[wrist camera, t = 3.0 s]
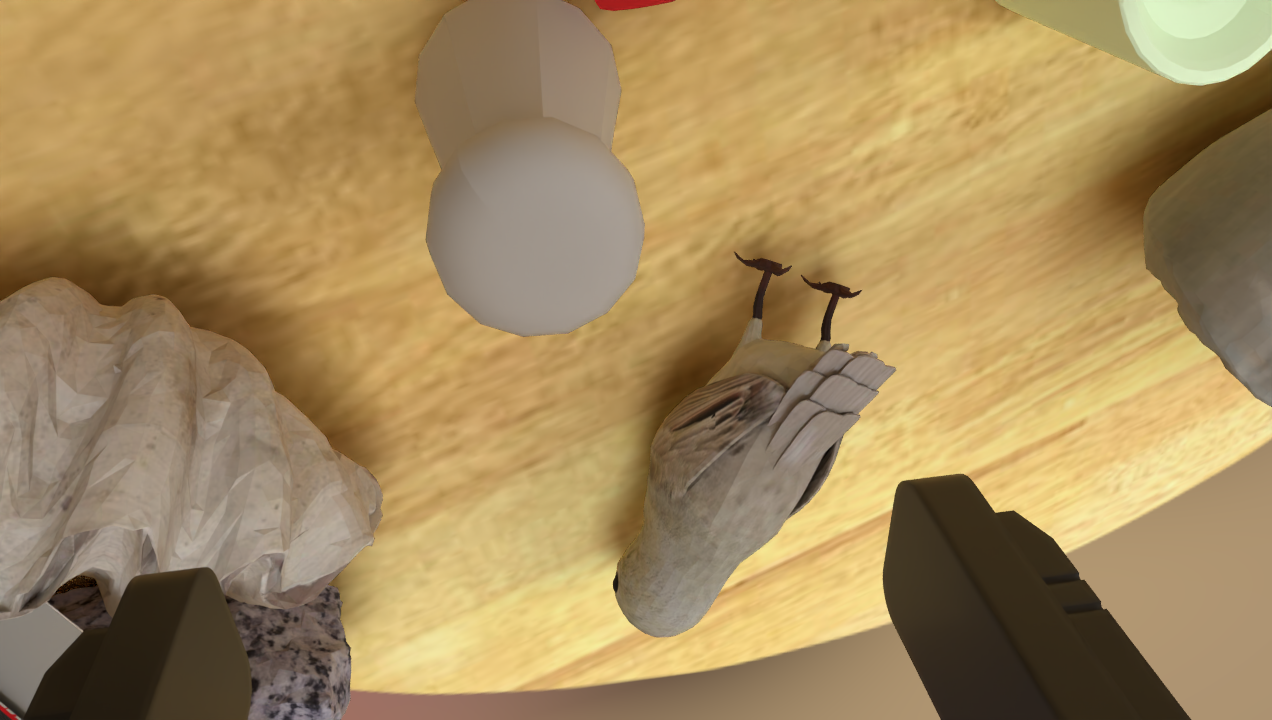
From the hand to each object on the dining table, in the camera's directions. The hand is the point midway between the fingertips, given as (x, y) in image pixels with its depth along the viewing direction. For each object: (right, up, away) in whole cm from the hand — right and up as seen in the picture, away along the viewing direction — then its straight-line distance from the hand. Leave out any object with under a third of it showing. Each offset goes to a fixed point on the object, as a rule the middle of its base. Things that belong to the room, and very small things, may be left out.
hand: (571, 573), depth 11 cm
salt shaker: (-3, +11, +17) cm, 21 cm away
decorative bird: (+3, 0, +26) cm, 26 cm away
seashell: (-16, +2, +21) cm, 26 cm away
